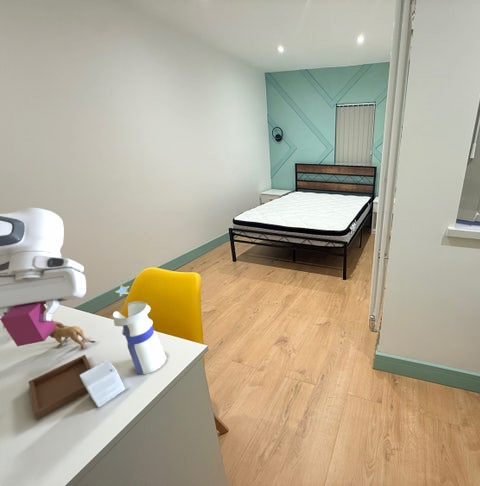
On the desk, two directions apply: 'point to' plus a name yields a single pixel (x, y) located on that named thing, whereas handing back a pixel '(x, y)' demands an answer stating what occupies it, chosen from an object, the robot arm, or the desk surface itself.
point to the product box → (102, 382)
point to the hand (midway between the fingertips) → (28, 324)
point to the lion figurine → (68, 334)
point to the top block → (27, 324)
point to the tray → (58, 386)
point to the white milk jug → (140, 336)
